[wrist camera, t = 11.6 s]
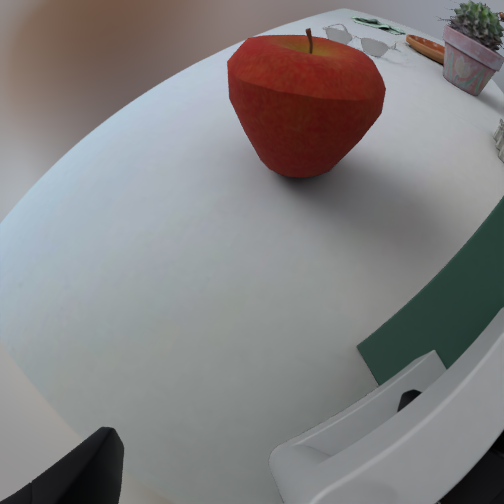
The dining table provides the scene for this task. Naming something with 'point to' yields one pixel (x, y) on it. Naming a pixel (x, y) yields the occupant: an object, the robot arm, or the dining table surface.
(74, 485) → the robot arm
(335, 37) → the eyeglasses
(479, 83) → the potted plant
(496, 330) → the cooler door
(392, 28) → the cloth
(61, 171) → the dining table surface
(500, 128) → the egg carton
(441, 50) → the saucer
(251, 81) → the apple
